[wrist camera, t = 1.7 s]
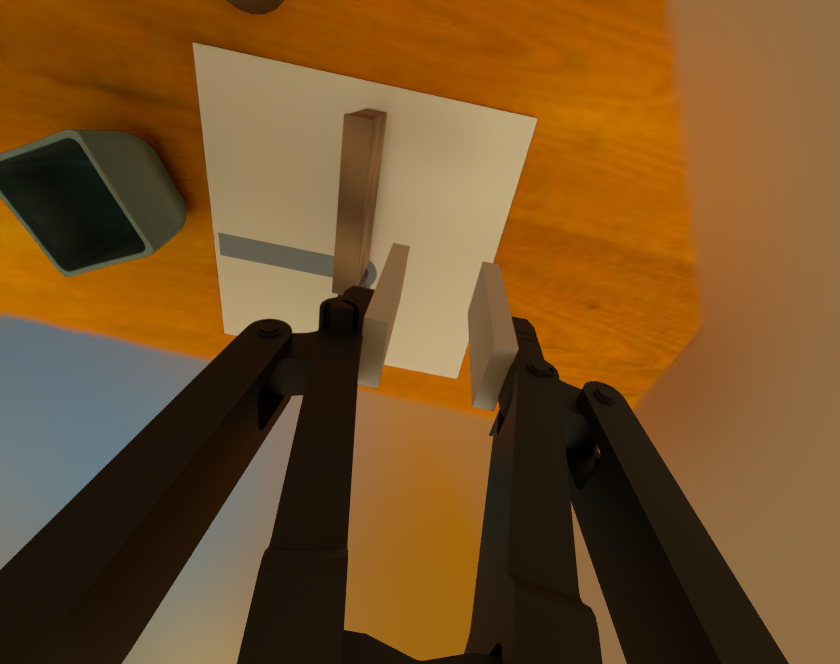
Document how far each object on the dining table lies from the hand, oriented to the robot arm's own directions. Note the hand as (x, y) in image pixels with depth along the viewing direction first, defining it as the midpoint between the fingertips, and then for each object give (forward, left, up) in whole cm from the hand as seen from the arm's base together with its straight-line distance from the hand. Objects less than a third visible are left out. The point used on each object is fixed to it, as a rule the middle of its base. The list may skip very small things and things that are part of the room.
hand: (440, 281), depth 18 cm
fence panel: (+1, -6, -17) cm, 18 cm away
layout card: (+7, -8, -19) cm, 21 cm away
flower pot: (+5, -27, -19) cm, 33 cm away
